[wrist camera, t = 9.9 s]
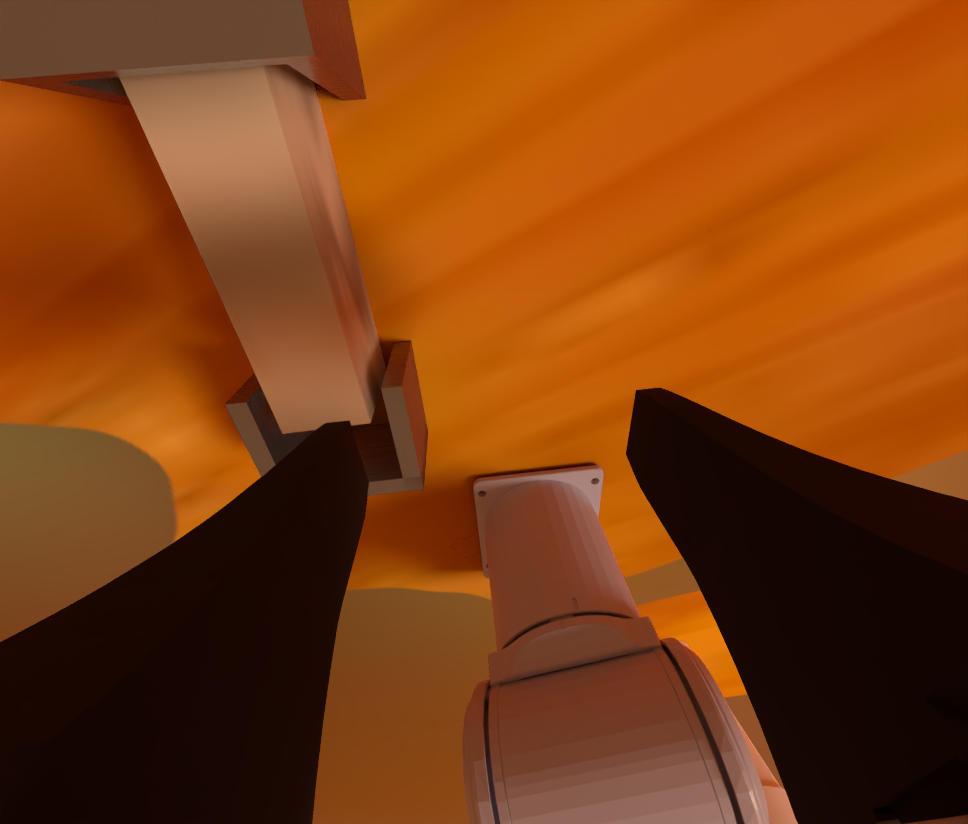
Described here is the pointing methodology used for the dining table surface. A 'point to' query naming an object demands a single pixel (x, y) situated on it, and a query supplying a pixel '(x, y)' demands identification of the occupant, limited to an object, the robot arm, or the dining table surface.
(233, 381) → the dining table surface
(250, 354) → the light brown long block
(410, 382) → the open end cap
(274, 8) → the grey rectangular block
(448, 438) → the dining table surface
